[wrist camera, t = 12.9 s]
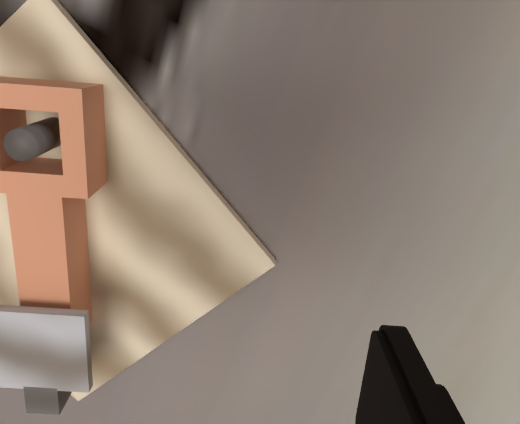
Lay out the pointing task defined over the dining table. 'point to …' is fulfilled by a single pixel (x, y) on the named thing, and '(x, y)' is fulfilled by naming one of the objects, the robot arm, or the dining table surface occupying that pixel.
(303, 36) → the dining table surface
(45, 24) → the board
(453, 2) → the dining table surface
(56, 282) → the link
